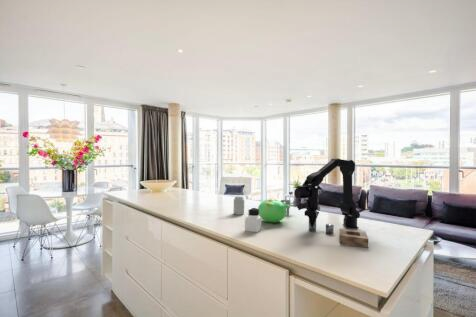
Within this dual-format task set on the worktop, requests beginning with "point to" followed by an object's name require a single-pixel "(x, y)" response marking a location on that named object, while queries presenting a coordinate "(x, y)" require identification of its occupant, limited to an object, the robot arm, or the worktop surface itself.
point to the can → (238, 206)
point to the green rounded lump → (272, 210)
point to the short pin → (329, 228)
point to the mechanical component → (287, 204)
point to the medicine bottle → (253, 220)
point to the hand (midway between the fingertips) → (312, 225)
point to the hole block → (353, 238)
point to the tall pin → (312, 229)
